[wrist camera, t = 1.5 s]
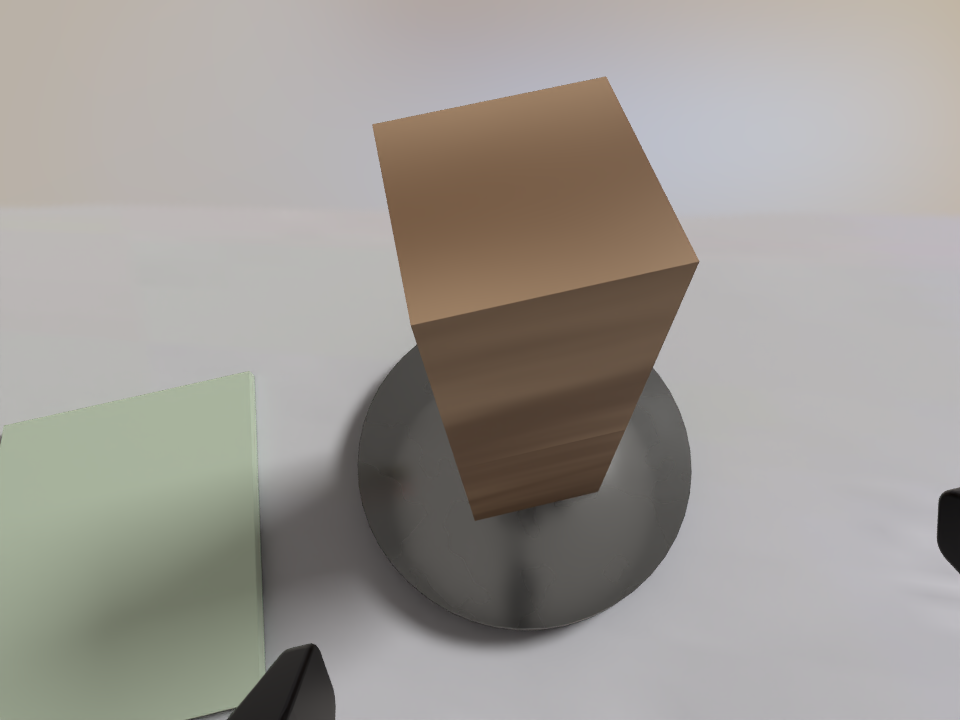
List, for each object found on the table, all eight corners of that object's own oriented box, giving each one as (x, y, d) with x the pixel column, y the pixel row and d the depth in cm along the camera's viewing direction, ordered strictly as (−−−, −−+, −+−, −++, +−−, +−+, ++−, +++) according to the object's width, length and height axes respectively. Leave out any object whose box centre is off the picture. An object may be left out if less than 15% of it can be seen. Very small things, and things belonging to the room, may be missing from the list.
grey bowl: (739, 582, 19) (803, 558, 15) (388, 669, 19) (347, 671, 14) (621, 294, 25) (642, 215, 21) (348, 355, 24) (309, 287, 20)
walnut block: (598, 491, 20) (699, 261, 9) (474, 520, 20) (410, 325, 8) (562, 381, 22) (605, 76, 11) (450, 406, 22) (372, 124, 11)
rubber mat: (266, 699, 19) (260, 701, 18) (-48, 778, 18) (-63, 781, 18) (254, 376, 24) (249, 371, 24) (13, 430, 24) (3, 425, 23)
